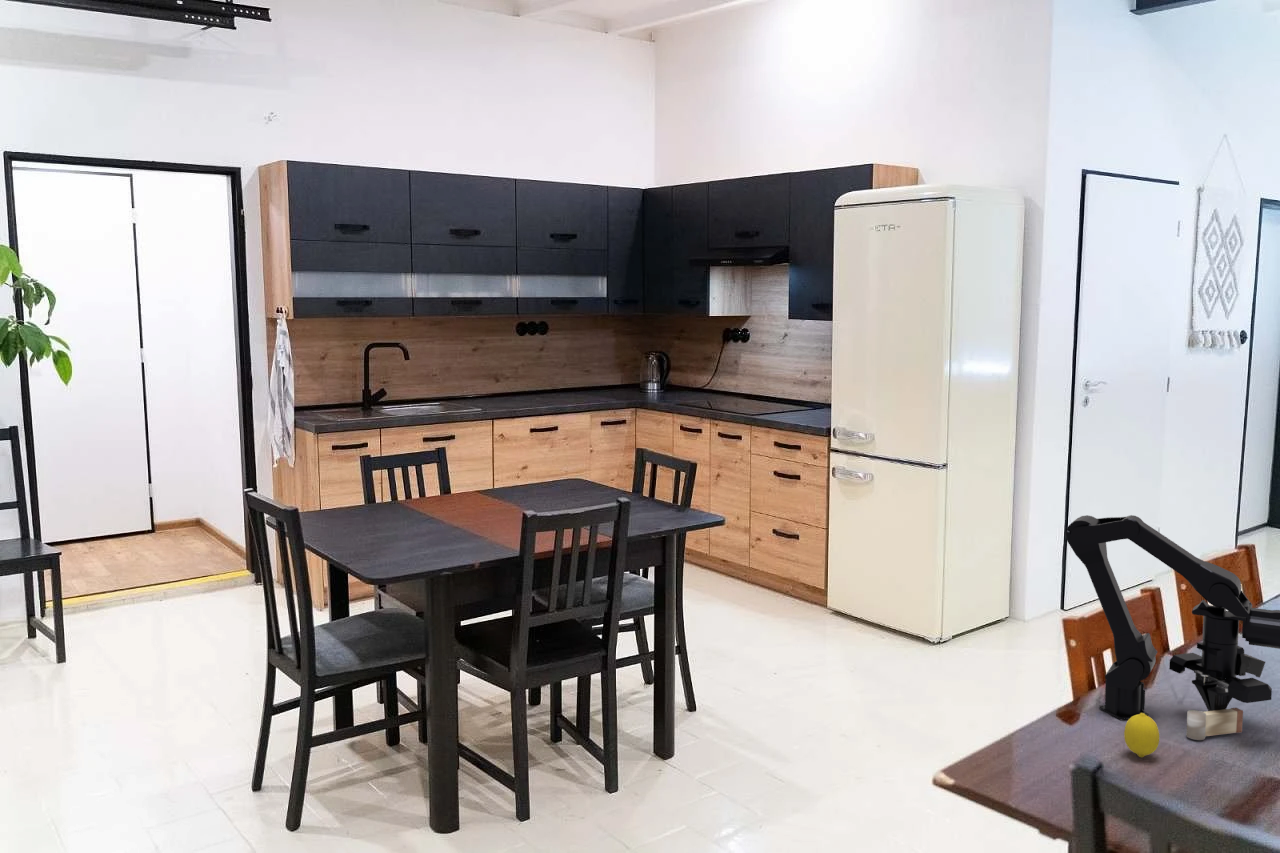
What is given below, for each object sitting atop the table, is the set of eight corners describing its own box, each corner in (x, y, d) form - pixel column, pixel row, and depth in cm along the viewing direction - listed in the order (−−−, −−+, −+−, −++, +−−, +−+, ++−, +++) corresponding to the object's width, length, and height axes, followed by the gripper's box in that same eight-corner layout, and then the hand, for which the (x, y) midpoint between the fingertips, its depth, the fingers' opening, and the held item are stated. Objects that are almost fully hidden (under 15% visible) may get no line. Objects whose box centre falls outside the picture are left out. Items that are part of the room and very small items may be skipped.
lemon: (1156, 766, 177) (1158, 721, 176) (1121, 759, 180) (1123, 715, 179) (1160, 754, 181) (1161, 711, 181) (1125, 748, 184) (1127, 705, 183)
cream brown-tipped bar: (1194, 740, 186) (1195, 717, 186) (1182, 734, 189) (1183, 711, 189) (1244, 734, 189) (1246, 711, 188) (1232, 728, 191) (1233, 705, 191)
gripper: (1299, 651, 183) (1294, 736, 185) (1217, 621, 201) (1214, 698, 203) (1247, 657, 180) (1243, 743, 182) (1168, 626, 198) (1165, 704, 200)
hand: (1216, 721), depth 192 cm, fingers closed
